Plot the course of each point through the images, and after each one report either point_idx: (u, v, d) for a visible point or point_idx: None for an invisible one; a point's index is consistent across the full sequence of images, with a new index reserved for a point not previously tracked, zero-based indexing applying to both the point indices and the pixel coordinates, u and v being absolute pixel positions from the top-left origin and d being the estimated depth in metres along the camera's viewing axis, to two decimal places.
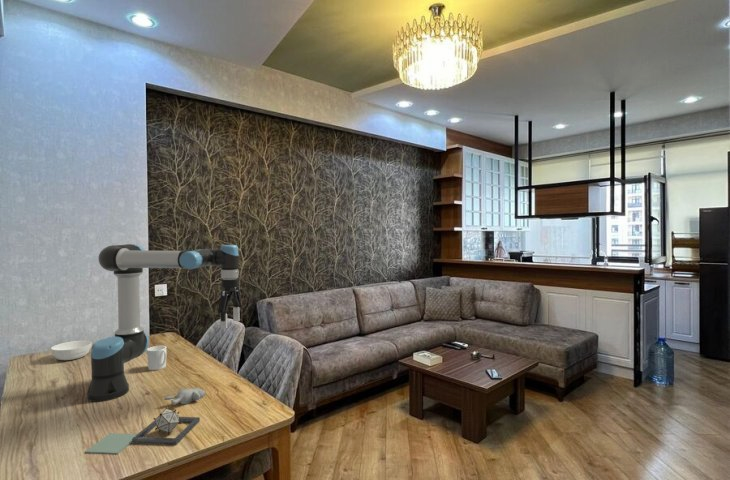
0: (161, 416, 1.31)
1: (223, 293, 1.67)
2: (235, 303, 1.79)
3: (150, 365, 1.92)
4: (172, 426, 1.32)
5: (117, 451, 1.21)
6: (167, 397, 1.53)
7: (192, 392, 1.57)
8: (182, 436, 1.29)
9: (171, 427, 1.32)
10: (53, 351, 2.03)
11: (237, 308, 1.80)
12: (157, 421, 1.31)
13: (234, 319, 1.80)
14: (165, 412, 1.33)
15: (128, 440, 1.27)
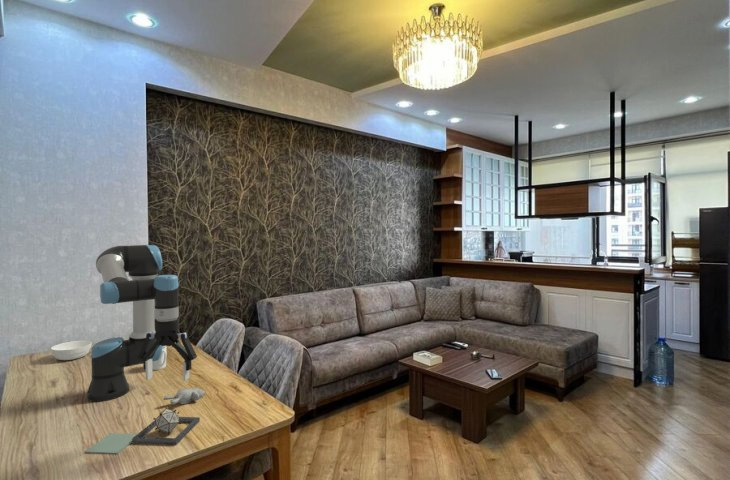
0: (161, 416, 1.31)
1: None
2: None
3: None
4: (172, 426, 1.32)
5: (117, 451, 1.21)
6: (166, 397, 1.53)
7: (191, 392, 1.57)
8: (182, 436, 1.29)
9: (171, 427, 1.32)
10: (53, 351, 2.03)
11: None
12: (157, 421, 1.31)
13: None
14: (165, 412, 1.33)
15: (128, 440, 1.27)
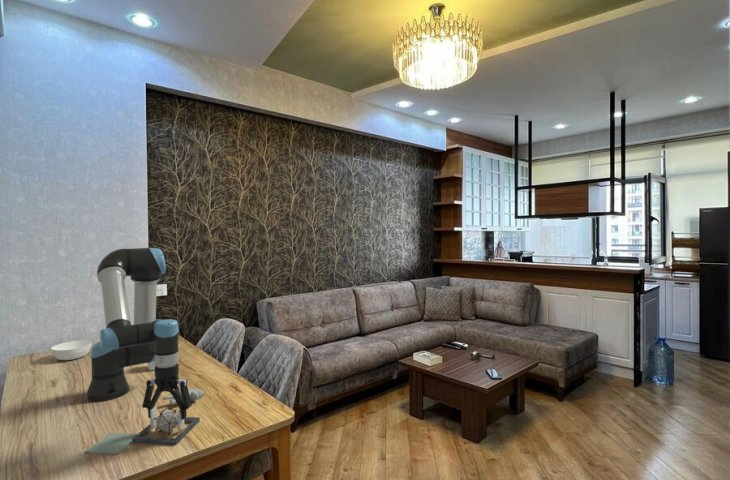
0: (161, 416, 1.31)
1: None
2: None
3: (150, 365, 1.92)
4: (172, 426, 1.32)
5: (117, 451, 1.21)
6: (166, 397, 1.53)
7: (191, 392, 1.57)
8: (182, 436, 1.29)
9: (171, 427, 1.32)
10: (53, 351, 2.03)
11: None
12: (157, 421, 1.31)
13: None
14: (165, 412, 1.33)
15: (128, 440, 1.27)
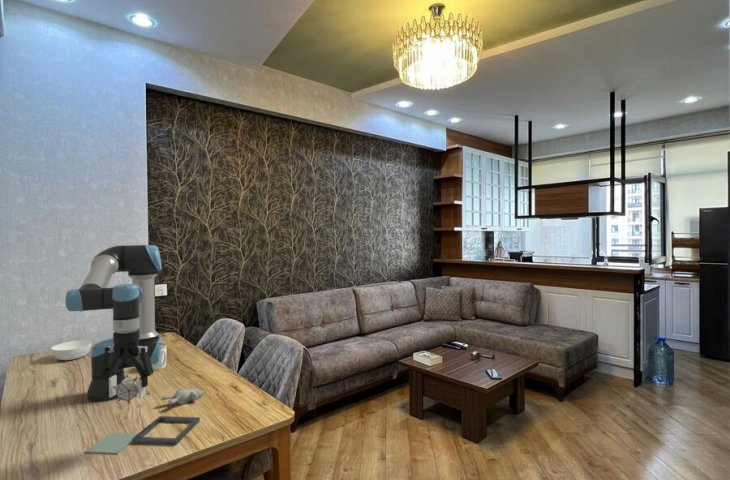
0: (121, 384, 1.25)
1: None
2: None
3: None
4: (132, 394, 1.26)
5: (117, 451, 1.21)
6: (165, 397, 1.53)
7: (190, 392, 1.57)
8: (182, 436, 1.29)
9: (131, 395, 1.26)
10: (53, 351, 2.03)
11: None
12: (116, 389, 1.26)
13: None
14: (125, 380, 1.27)
15: (128, 440, 1.27)
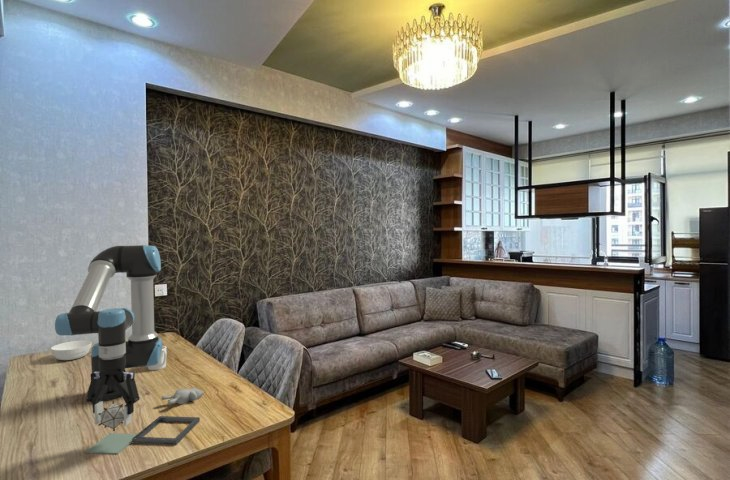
0: (106, 411, 1.23)
1: None
2: None
3: None
4: (118, 422, 1.24)
5: (117, 451, 1.21)
6: (164, 397, 1.53)
7: (189, 392, 1.57)
8: (182, 436, 1.29)
9: (117, 423, 1.24)
10: (53, 351, 2.03)
11: None
12: (102, 416, 1.24)
13: None
14: (111, 407, 1.25)
15: (128, 440, 1.27)
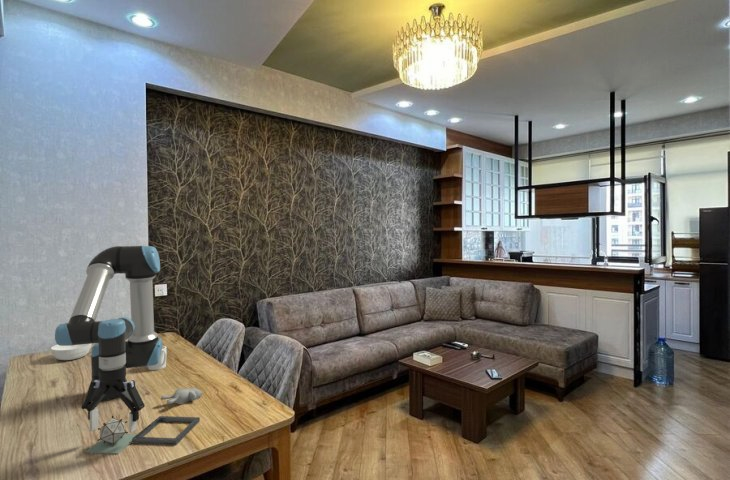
0: (105, 426, 1.23)
1: None
2: None
3: None
4: (117, 437, 1.24)
5: (117, 451, 1.21)
6: (164, 397, 1.53)
7: (189, 392, 1.57)
8: (182, 436, 1.29)
9: (116, 438, 1.24)
10: (53, 351, 2.03)
11: None
12: (101, 431, 1.24)
13: None
14: (110, 422, 1.25)
15: (128, 440, 1.27)
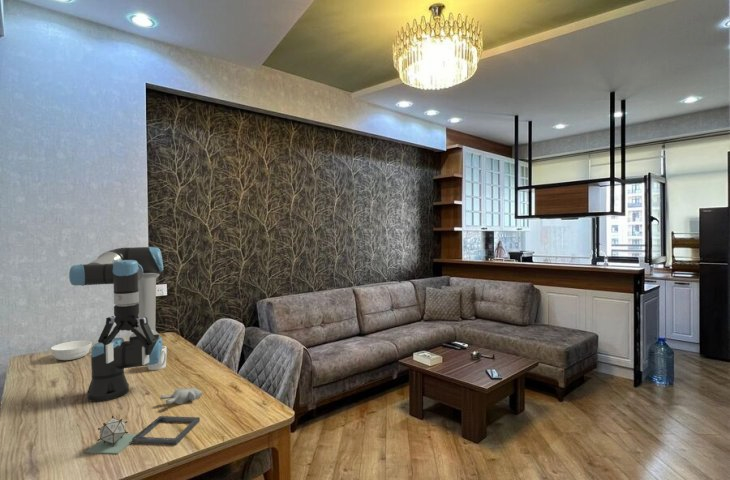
0: (105, 426, 1.23)
1: None
2: None
3: (150, 365, 1.92)
4: (117, 437, 1.24)
5: (117, 451, 1.21)
6: (163, 396, 1.54)
7: (188, 392, 1.57)
8: (182, 436, 1.29)
9: (116, 438, 1.24)
10: (53, 351, 2.03)
11: None
12: (101, 431, 1.24)
13: None
14: (110, 422, 1.25)
15: (128, 440, 1.27)
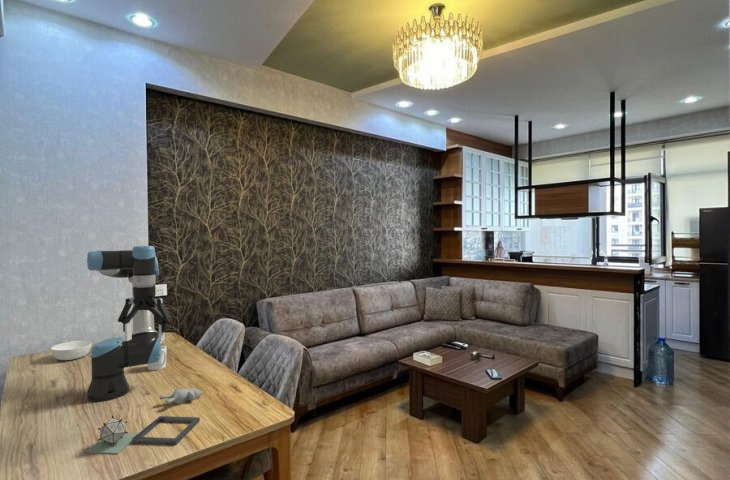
0: (105, 426, 1.23)
1: None
2: None
3: (150, 365, 1.92)
4: (117, 437, 1.24)
5: (117, 451, 1.21)
6: (162, 396, 1.54)
7: (187, 392, 1.57)
8: (182, 436, 1.29)
9: (116, 438, 1.24)
10: (53, 351, 2.03)
11: None
12: (101, 431, 1.24)
13: None
14: (110, 422, 1.25)
15: (128, 440, 1.27)
